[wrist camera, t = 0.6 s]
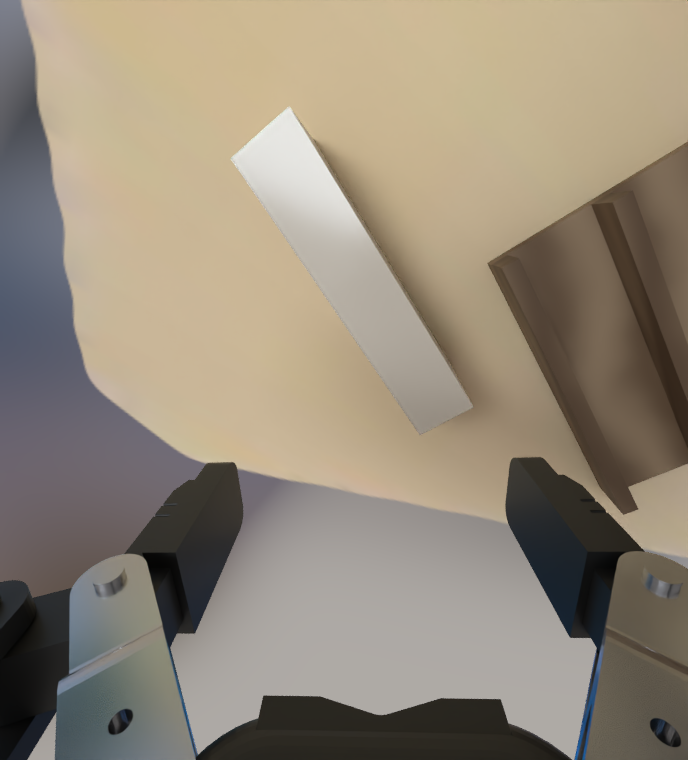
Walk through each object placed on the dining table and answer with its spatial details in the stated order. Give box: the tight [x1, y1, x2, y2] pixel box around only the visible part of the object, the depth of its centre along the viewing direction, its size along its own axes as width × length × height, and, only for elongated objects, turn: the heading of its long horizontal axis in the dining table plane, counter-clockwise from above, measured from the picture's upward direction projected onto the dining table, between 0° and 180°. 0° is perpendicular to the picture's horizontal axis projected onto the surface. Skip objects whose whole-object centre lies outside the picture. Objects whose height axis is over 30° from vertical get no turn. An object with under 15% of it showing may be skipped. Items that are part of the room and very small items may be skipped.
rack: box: [488, 142, 688, 515], centre depth 28 cm, size 16×24×4 cm, turn 33°
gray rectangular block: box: [231, 107, 473, 435], centre depth 26 cm, size 4×20×8 cm, turn 34°
